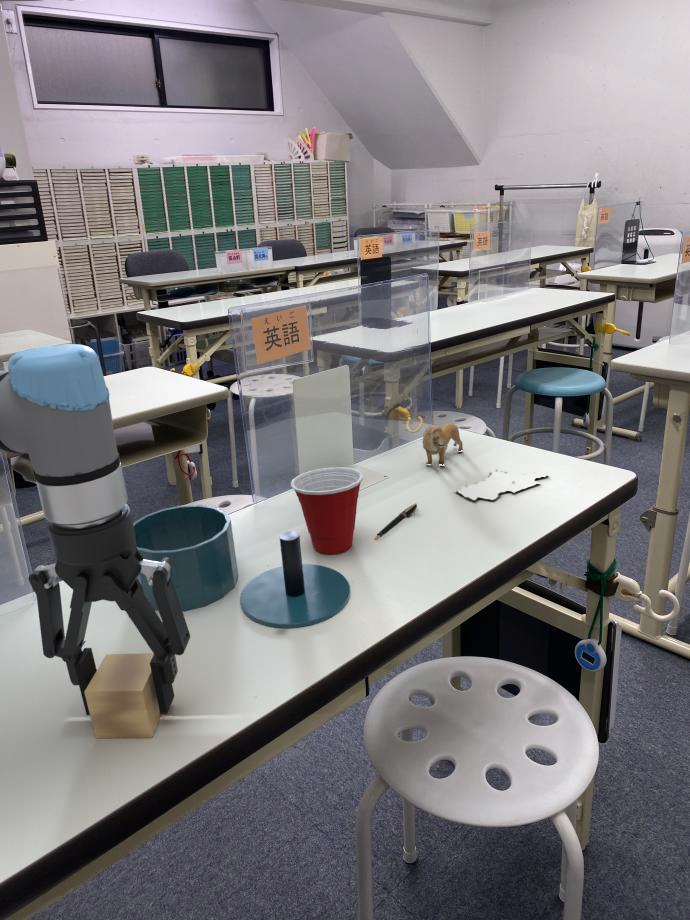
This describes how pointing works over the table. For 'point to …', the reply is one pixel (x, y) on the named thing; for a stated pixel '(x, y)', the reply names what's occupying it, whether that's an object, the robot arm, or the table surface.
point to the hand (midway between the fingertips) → (131, 705)
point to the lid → (294, 590)
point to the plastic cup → (329, 506)
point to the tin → (190, 552)
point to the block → (123, 697)
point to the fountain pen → (397, 520)
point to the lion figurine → (440, 440)
